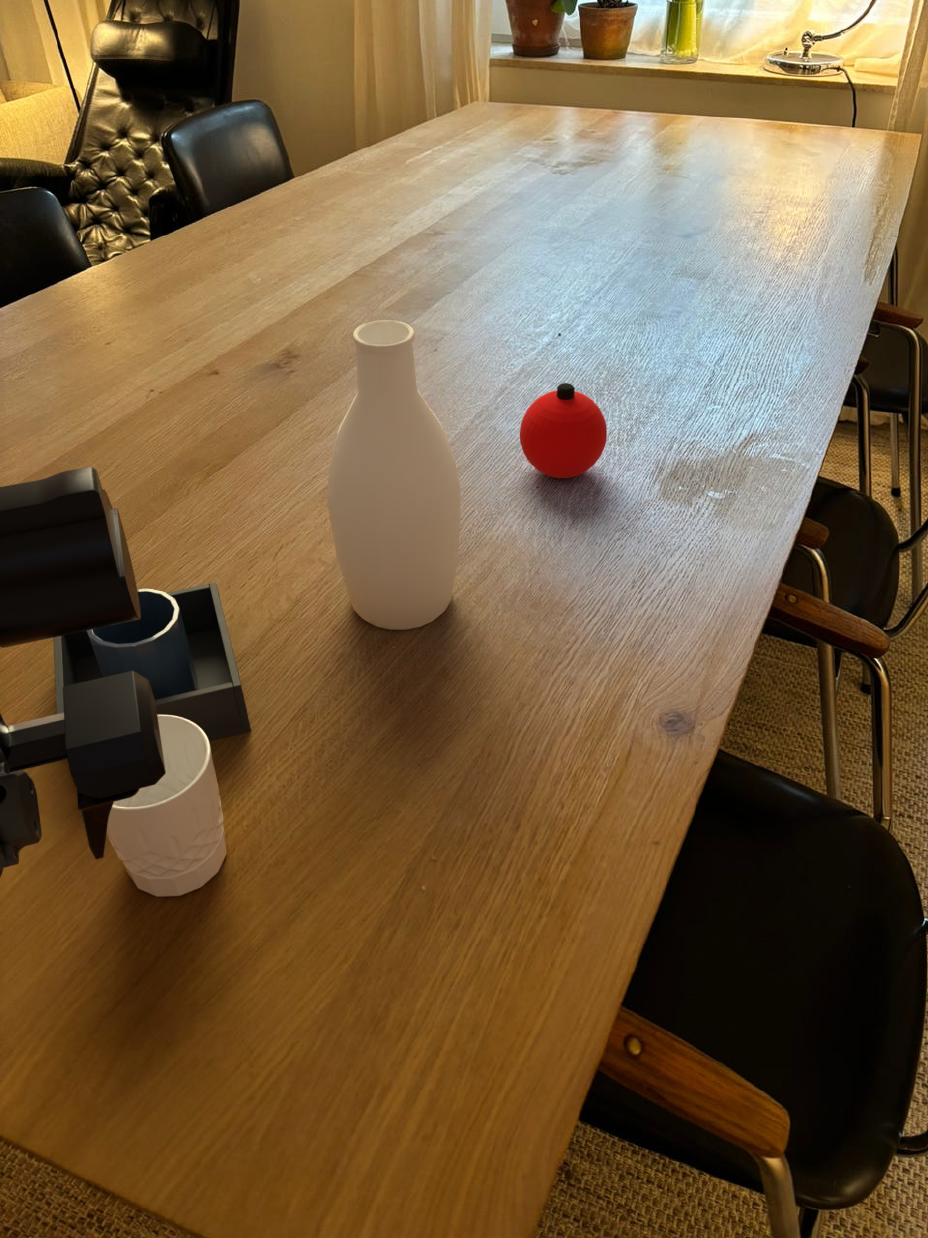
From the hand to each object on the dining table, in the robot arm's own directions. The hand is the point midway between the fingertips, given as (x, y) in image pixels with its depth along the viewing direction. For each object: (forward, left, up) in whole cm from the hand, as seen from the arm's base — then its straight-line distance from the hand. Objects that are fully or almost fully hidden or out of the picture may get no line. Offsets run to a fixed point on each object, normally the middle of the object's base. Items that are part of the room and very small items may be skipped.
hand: (8, 876), depth 52 cm
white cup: (+1, +11, -13) cm, 17 cm away
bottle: (+6, +42, -13) cm, 44 cm away
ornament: (+15, +67, -13) cm, 70 cm away
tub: (-9, +25, -13) cm, 30 cm away
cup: (-9, +25, -12) cm, 29 cm away
